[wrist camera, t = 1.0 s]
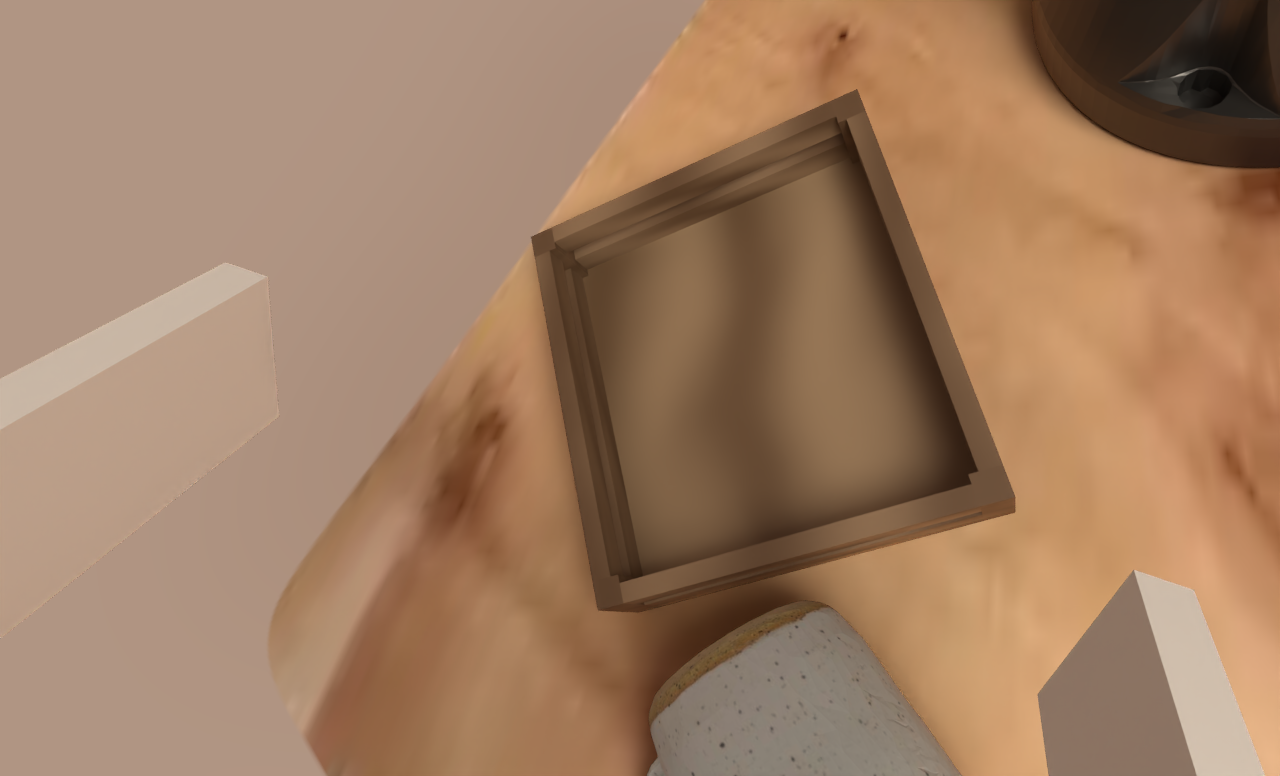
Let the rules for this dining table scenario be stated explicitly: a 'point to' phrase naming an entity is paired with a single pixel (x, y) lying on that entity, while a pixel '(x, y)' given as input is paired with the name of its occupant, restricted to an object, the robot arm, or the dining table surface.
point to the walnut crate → (759, 369)
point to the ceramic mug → (790, 706)
